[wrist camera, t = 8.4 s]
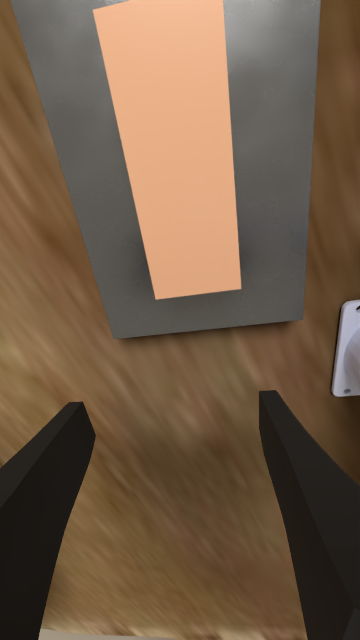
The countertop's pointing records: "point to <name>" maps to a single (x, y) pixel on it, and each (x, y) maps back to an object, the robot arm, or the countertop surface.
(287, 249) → the rail plate
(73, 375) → the countertop surface
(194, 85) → the tall peach brick
